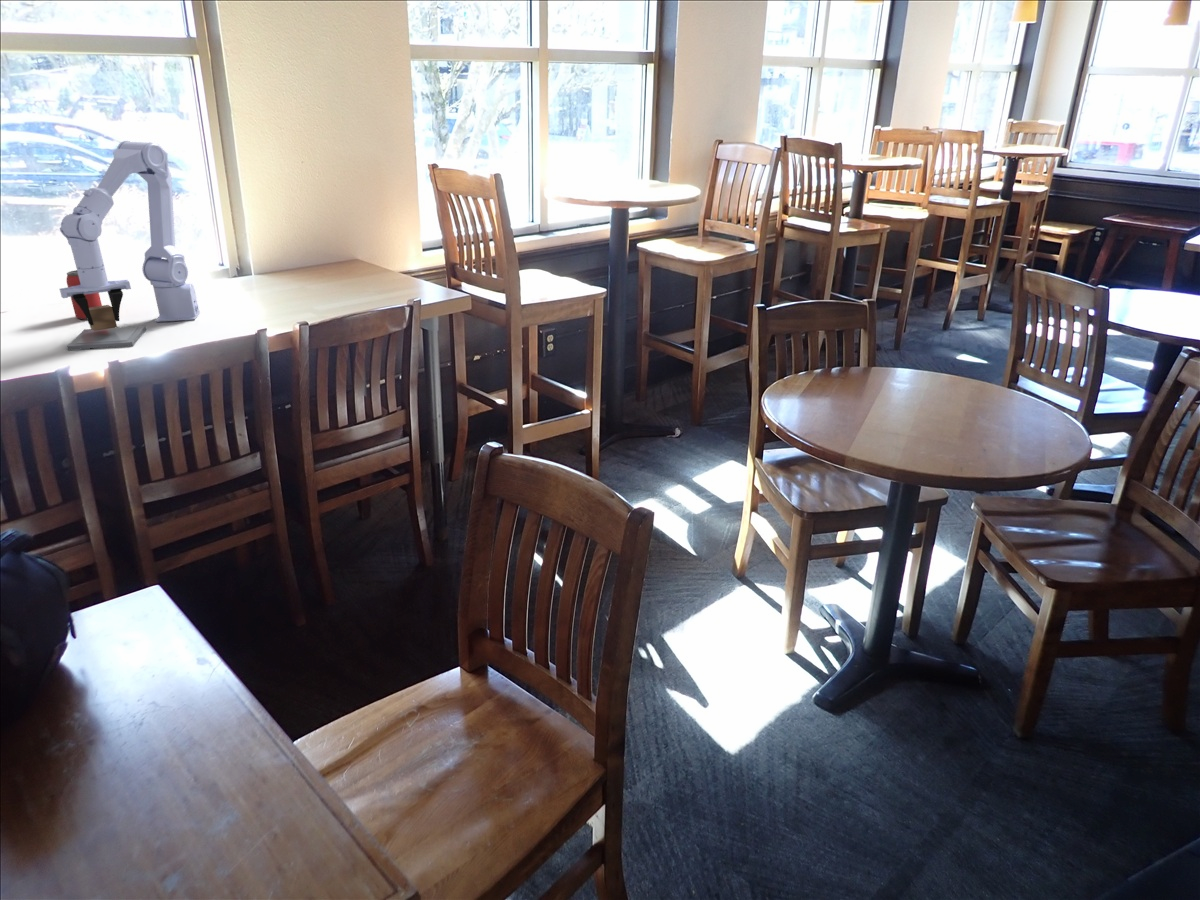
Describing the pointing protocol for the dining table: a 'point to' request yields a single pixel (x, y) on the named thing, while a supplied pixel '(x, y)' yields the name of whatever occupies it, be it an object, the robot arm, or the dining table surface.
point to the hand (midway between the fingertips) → (104, 322)
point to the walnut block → (102, 317)
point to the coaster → (107, 338)
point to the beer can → (91, 298)
